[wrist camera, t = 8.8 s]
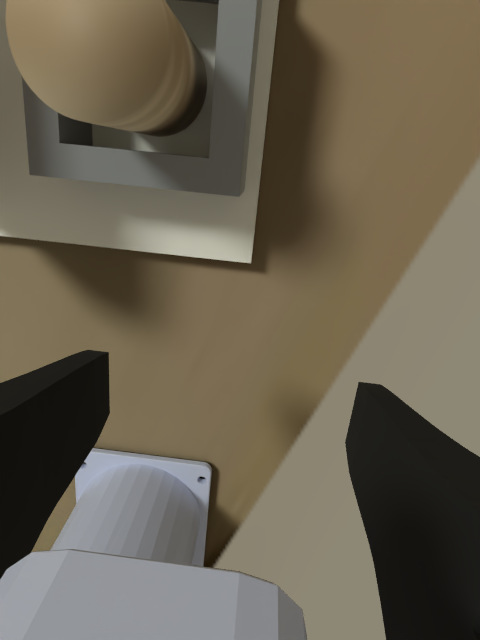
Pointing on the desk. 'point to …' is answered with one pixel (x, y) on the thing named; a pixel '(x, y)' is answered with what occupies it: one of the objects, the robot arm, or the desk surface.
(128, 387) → the desk surface
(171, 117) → the maple peg
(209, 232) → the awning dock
